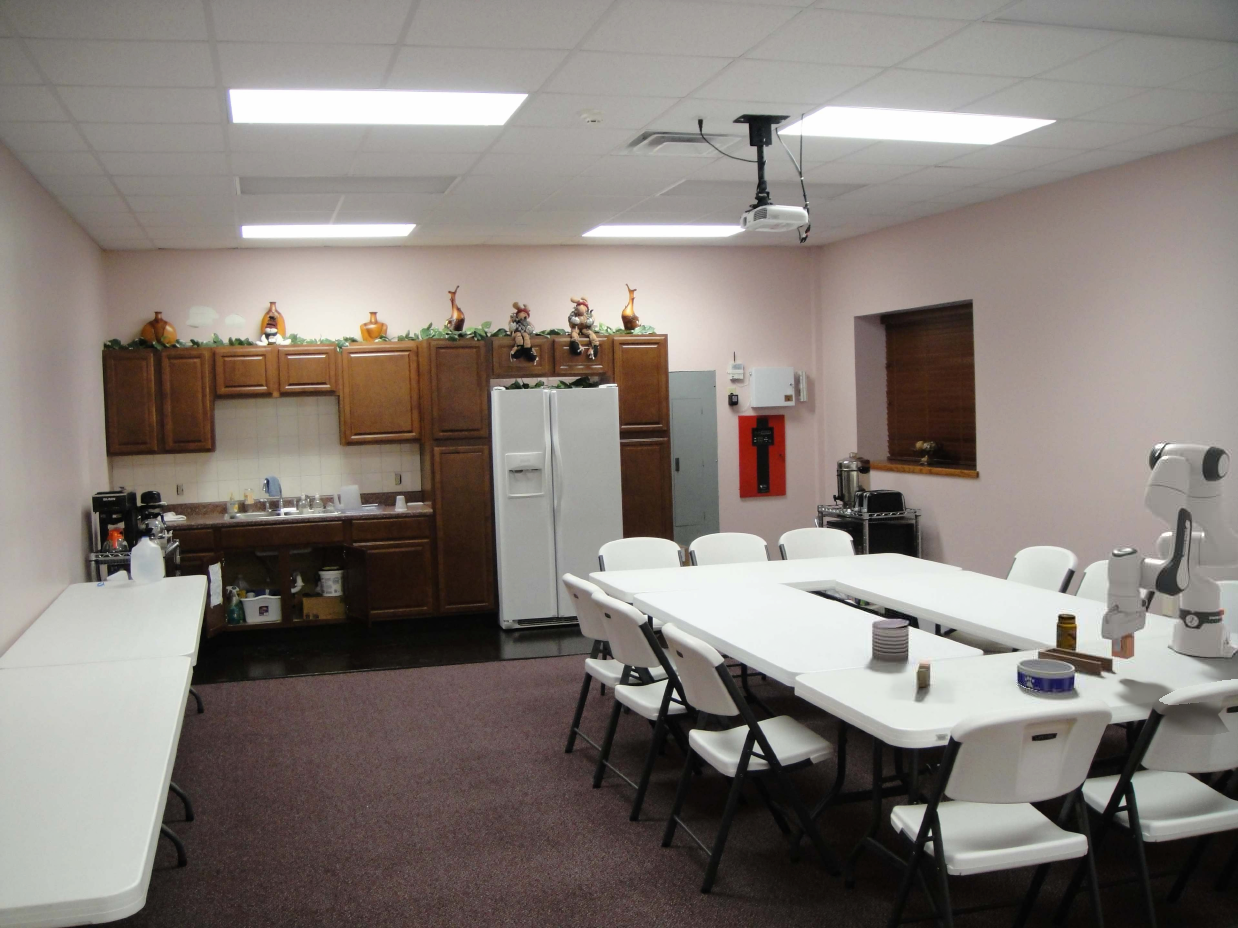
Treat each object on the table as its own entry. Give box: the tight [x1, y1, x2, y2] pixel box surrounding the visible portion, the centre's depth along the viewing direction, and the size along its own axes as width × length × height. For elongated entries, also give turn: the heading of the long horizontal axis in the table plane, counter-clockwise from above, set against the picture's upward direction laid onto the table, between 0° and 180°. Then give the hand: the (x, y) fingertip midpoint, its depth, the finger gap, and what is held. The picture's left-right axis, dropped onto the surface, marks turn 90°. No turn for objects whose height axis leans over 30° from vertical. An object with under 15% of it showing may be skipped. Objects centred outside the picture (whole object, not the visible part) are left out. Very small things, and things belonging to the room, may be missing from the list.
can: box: [871, 618, 910, 664], centre depth 316 cm, size 11×11×12 cm
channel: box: [1037, 646, 1114, 676], centre depth 305 cm, size 8×19×4 cm, turn 38°
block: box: [1111, 635, 1135, 660], centre depth 294 cm, size 4×4×6 cm
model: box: [915, 659, 931, 694], centre depth 283 cm, size 3×11×8 cm, turn 160°
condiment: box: [1045, 613, 1078, 652], centre depth 323 cm, size 7×8×12 cm
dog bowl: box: [1016, 658, 1076, 694], centre depth 285 cm, size 15×15×6 cm
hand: (1123, 648), depth 294 cm, fingers closed on block, 4 cm apart
